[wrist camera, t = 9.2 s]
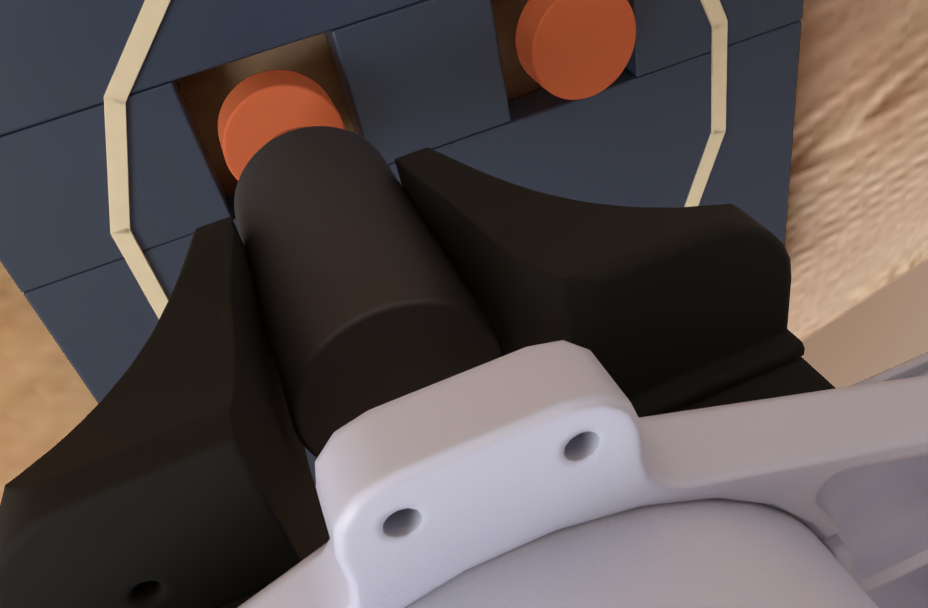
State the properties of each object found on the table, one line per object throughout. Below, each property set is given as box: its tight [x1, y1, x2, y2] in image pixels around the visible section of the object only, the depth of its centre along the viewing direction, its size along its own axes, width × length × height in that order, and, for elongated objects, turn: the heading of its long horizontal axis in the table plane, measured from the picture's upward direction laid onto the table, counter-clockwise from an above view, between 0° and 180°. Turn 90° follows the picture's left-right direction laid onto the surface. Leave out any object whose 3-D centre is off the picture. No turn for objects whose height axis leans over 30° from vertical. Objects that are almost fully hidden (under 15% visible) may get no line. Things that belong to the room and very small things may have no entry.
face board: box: [0, 0, 803, 486], centre depth 20 cm, size 20×18×1 cm
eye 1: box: [218, 70, 345, 180], centre depth 18 cm, size 3×3×1 cm
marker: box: [234, 126, 505, 458], centre depth 14 cm, size 3×3×7 cm
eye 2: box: [516, 0, 636, 100], centre depth 19 cm, size 3×3×1 cm
